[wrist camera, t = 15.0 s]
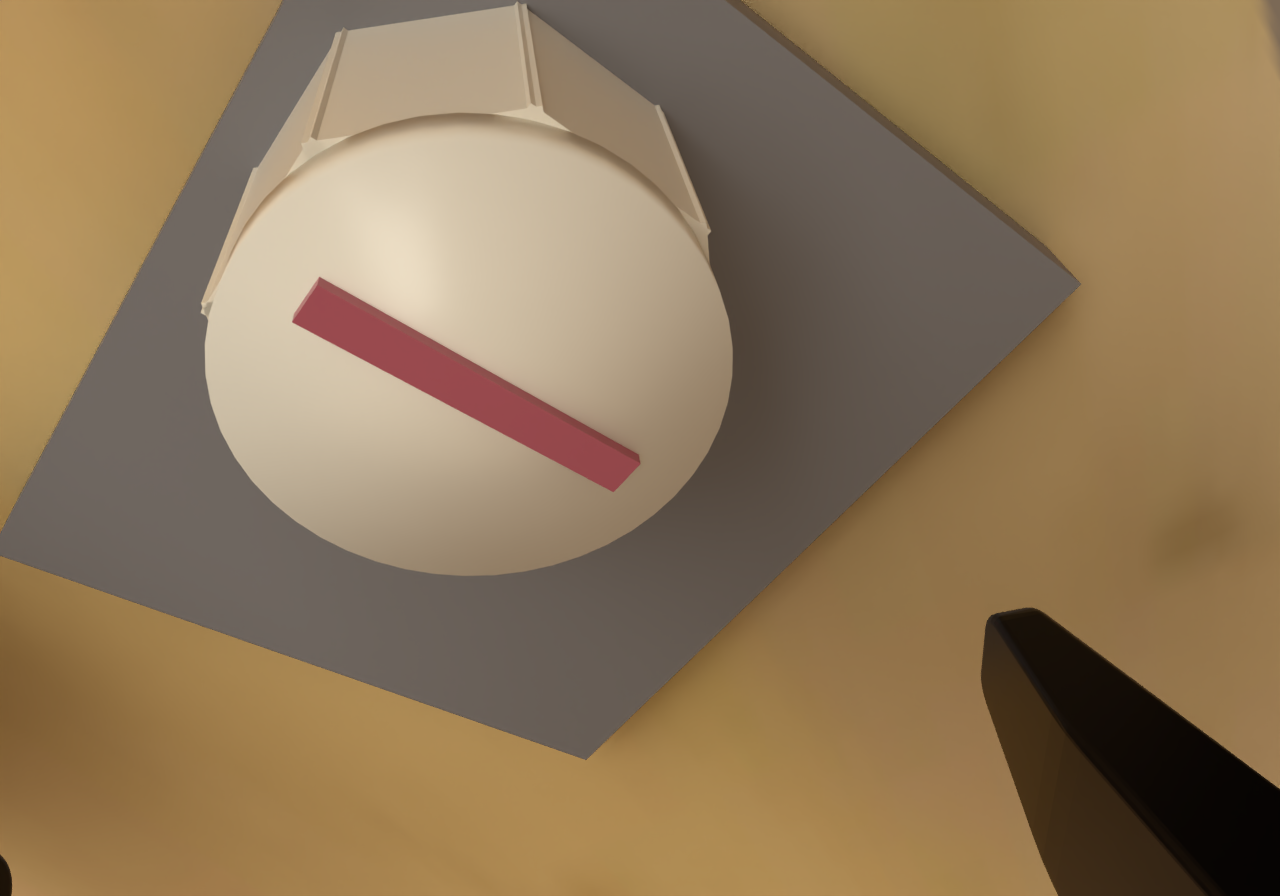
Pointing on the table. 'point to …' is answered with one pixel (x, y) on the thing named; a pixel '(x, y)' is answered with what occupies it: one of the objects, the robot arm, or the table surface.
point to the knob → (468, 302)
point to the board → (702, 509)
